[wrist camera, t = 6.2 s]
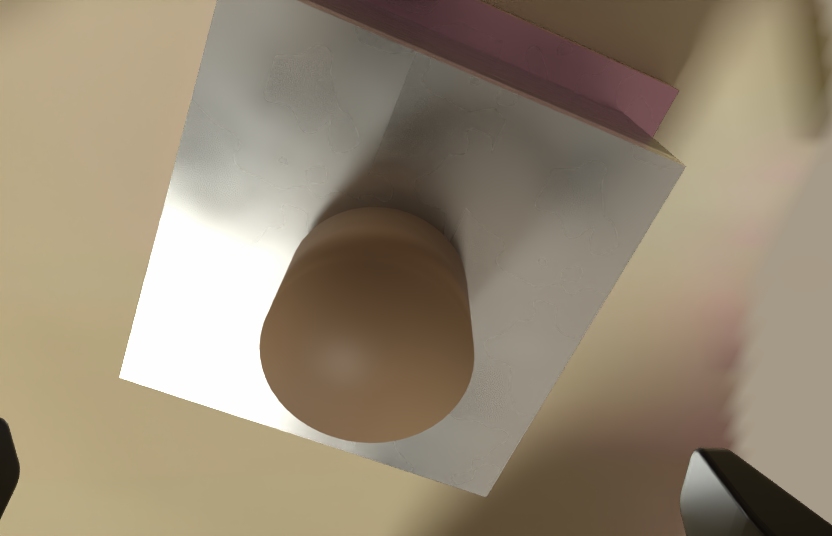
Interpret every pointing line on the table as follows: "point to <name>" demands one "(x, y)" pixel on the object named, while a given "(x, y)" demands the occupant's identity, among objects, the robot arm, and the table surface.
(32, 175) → the table surface
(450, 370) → the plunger
